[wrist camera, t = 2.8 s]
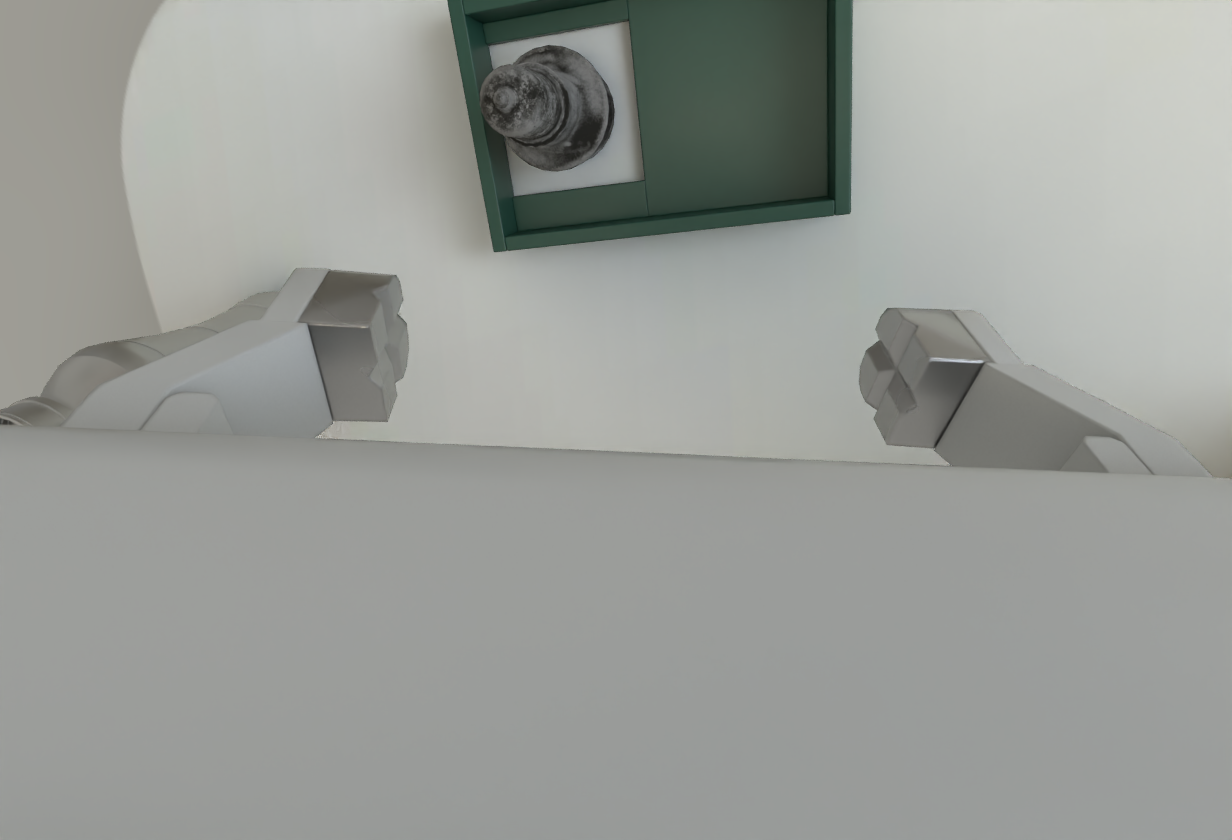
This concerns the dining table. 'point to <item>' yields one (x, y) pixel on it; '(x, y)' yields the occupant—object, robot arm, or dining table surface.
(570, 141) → the stone chess piece
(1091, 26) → the dining table surface
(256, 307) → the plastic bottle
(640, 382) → the dining table surface
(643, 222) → the tray
